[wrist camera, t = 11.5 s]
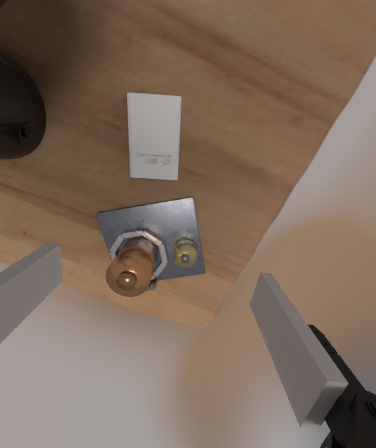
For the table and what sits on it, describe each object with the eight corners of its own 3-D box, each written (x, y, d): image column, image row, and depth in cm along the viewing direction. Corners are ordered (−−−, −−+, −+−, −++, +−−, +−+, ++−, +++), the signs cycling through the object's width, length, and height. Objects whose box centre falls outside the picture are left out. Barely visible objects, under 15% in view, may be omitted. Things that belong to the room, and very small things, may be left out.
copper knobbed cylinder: (121, 266, 39) (101, 296, 31) (124, 235, 37) (104, 258, 29) (155, 272, 40) (145, 304, 31) (160, 241, 37) (151, 267, 29)
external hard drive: (181, 98, 31) (178, 179, 35) (129, 95, 30) (132, 176, 35) (181, 95, 29) (177, 180, 33) (126, 92, 29) (129, 177, 33)
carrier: (120, 284, 41) (113, 298, 37) (96, 212, 36) (85, 220, 32) (204, 272, 40) (206, 285, 36) (192, 197, 35) (193, 202, 31)
